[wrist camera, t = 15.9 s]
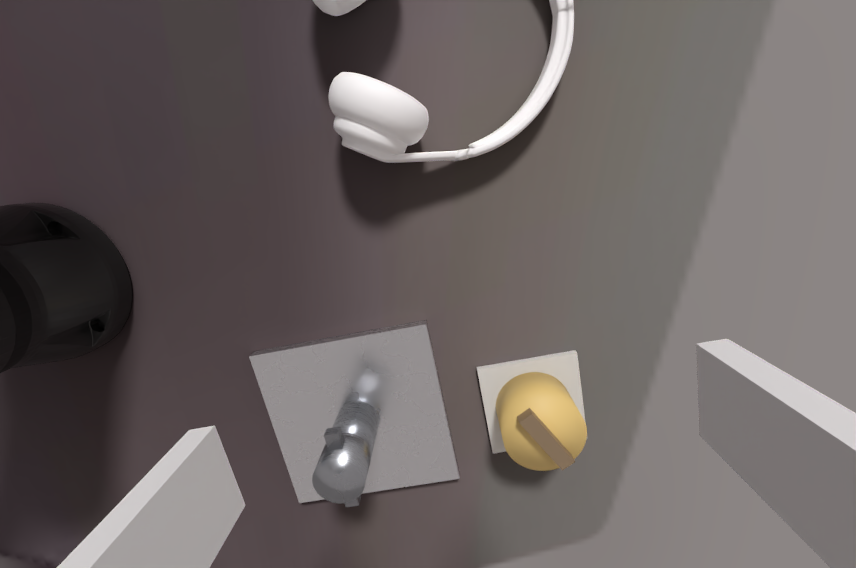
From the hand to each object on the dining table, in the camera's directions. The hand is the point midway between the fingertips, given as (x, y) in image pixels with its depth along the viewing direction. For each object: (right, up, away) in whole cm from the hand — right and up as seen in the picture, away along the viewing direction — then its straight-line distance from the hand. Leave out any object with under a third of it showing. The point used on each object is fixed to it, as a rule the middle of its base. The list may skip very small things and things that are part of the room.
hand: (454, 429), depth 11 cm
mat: (+10, -8, +32) cm, 34 cm away
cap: (+10, -9, +31) cm, 34 cm away
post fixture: (-8, -10, +33) cm, 35 cm away
